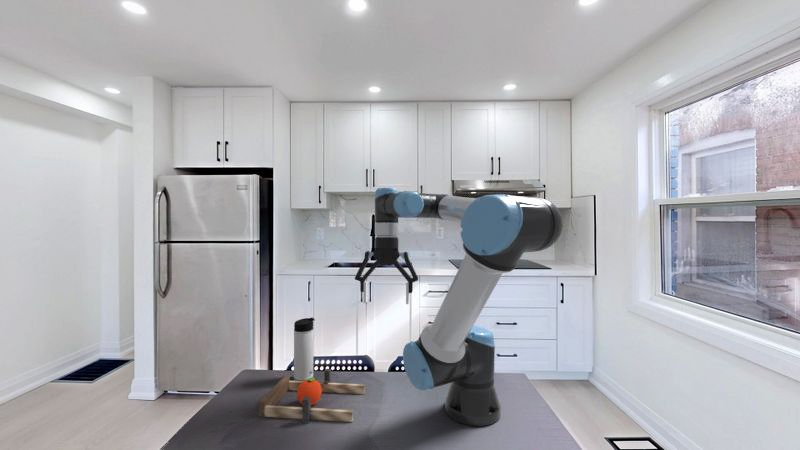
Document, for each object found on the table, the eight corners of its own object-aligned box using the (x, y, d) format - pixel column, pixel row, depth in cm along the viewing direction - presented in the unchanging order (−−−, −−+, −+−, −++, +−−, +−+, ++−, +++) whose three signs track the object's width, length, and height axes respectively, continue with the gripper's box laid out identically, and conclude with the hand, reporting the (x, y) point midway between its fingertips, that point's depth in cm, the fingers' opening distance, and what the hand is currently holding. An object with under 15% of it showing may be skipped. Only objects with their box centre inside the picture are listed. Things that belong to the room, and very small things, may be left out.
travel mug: (316, 380, 115) (316, 320, 115) (296, 385, 111) (296, 322, 112) (311, 373, 120) (311, 315, 120) (292, 377, 117) (292, 318, 117)
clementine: (307, 395, 105) (307, 371, 105) (327, 398, 103) (327, 374, 103) (291, 408, 97) (291, 383, 97) (314, 412, 95) (314, 386, 95)
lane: (365, 389, 108) (365, 370, 108) (350, 425, 89) (350, 402, 89) (287, 385, 111) (287, 366, 111) (255, 419, 92) (255, 397, 92)
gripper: (425, 236, 113) (425, 301, 113) (351, 235, 116) (351, 299, 116) (425, 237, 106) (425, 306, 106) (345, 236, 109) (345, 304, 109)
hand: (386, 302), depth 111 cm, fingers open, 13 cm apart
